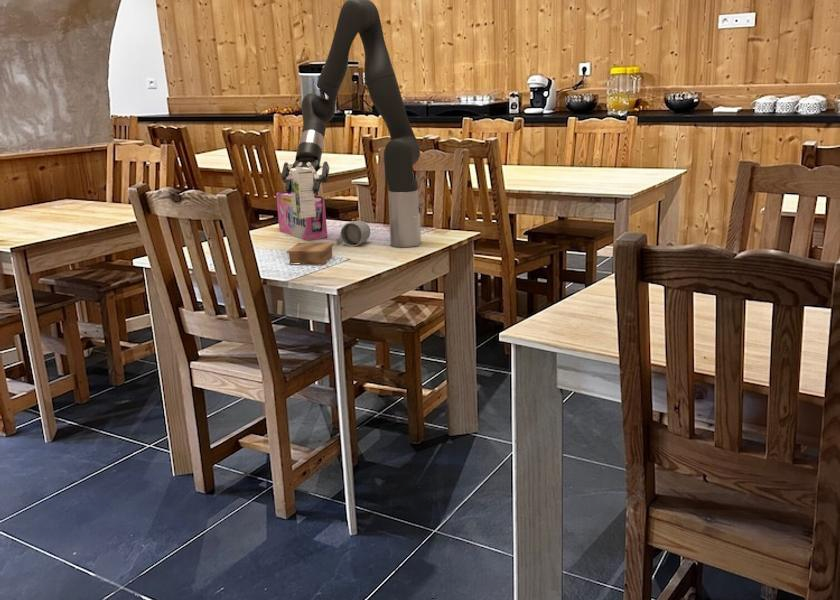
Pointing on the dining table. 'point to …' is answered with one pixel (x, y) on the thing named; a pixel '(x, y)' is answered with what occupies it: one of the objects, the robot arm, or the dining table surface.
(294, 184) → the syrup box
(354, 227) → the ceramic mug
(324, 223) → the gum box
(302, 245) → the plinth
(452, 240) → the dining table surface
